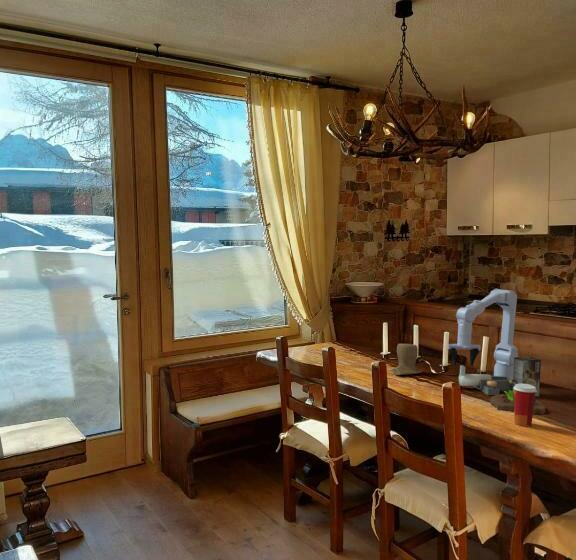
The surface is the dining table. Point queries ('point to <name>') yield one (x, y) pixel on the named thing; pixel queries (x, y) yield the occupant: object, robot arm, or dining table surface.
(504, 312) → the robot arm
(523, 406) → the paper cup
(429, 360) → the dining table surface
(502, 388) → the housing
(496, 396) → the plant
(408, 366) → the grey top hat
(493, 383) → the plunger
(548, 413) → the dining table surface
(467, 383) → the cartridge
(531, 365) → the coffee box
